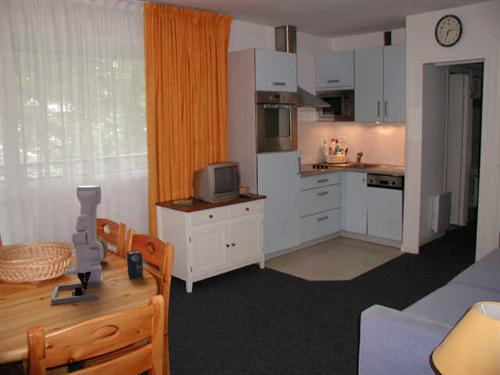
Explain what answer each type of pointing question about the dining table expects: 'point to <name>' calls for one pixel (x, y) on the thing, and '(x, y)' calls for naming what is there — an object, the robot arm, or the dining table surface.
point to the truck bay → (74, 298)
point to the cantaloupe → (104, 244)
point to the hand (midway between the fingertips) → (85, 289)
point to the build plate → (78, 291)
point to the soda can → (135, 264)
